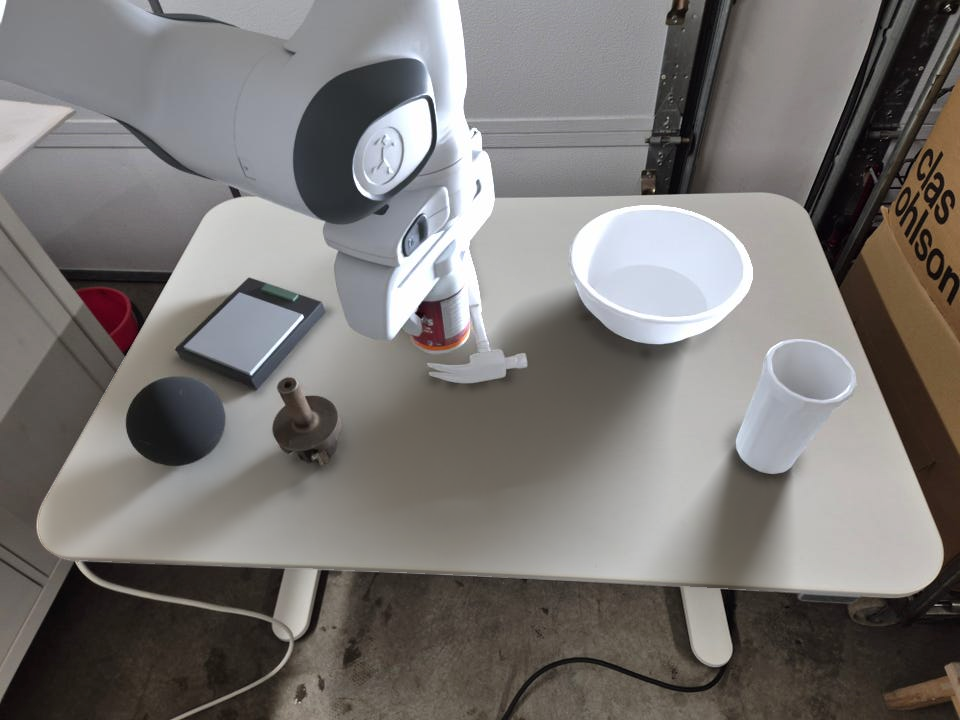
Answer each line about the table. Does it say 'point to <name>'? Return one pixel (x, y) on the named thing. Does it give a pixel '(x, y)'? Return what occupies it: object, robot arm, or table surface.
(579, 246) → the bowl
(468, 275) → the hammer
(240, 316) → the scale
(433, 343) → the pill bottle
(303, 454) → the industrial component
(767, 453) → the cup
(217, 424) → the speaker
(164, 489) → the table surface
